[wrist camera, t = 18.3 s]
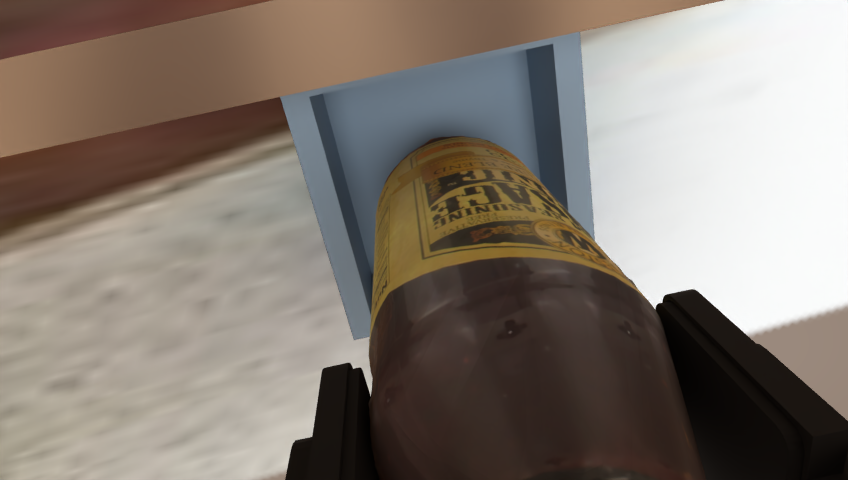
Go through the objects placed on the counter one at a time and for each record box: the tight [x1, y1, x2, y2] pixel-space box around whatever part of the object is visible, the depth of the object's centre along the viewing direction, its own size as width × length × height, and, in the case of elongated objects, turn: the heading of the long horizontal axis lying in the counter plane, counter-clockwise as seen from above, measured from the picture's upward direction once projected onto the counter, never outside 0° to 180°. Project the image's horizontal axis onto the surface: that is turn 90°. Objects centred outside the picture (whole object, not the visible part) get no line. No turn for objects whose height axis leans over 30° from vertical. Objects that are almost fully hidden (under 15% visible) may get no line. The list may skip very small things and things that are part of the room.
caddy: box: [280, 32, 595, 340], centre depth 23 cm, size 11×12×5 cm
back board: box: [0, 0, 723, 158], centre depth 18 cm, size 24×2×12 cm, turn 101°
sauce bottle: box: [368, 136, 706, 480], centre depth 12 cm, size 6×6×20 cm
